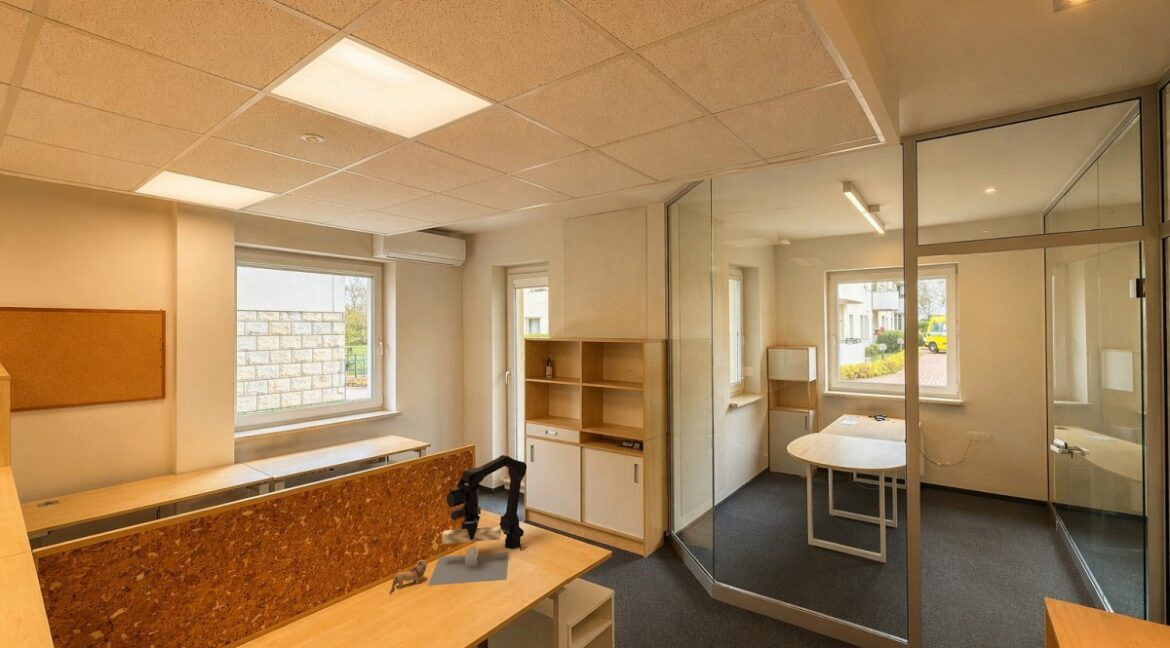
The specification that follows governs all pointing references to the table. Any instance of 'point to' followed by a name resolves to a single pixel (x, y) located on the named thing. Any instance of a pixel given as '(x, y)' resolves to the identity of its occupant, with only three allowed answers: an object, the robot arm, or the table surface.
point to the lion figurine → (410, 575)
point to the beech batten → (463, 536)
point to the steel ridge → (472, 557)
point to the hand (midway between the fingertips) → (472, 537)
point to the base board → (470, 569)
